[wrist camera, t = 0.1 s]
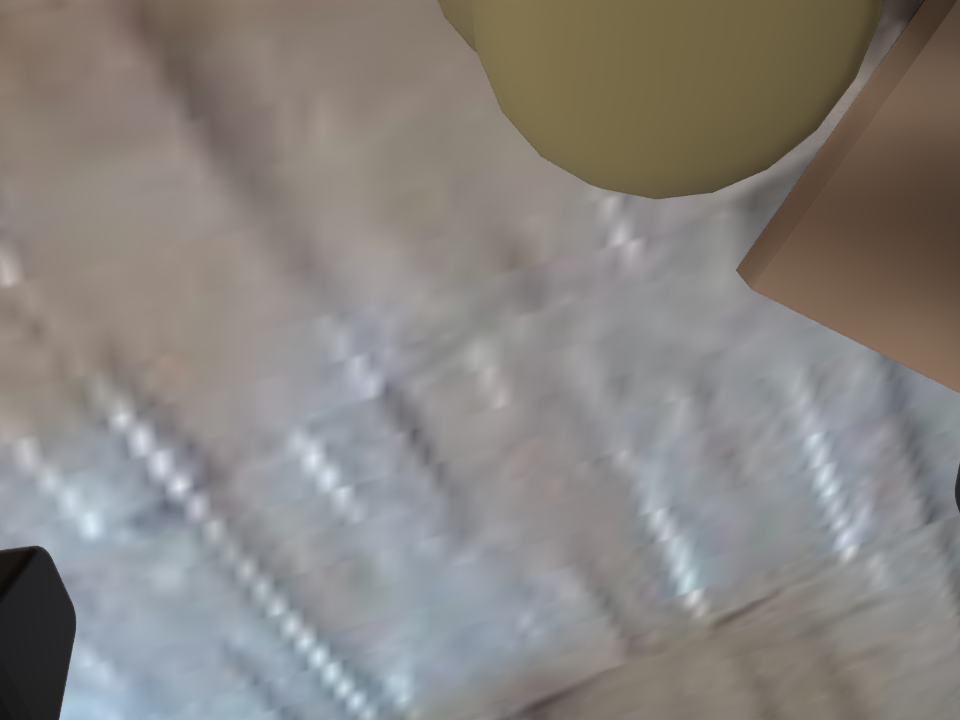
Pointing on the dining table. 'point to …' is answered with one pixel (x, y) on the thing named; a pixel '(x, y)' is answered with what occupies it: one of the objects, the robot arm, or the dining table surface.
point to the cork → (666, 82)
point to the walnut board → (882, 211)
